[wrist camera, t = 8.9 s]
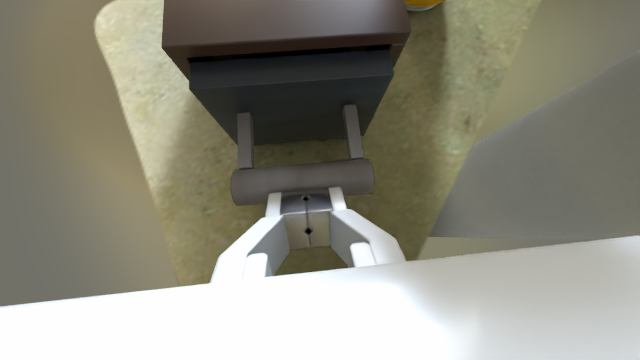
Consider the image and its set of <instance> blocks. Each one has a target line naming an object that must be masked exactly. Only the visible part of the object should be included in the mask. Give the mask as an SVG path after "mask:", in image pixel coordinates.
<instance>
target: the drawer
mask: <svg viewBox="0 0 640 360" xmlns="http://www.w3.org/2000/svg"><path fill="white" fill-rule="evenodd" d="M367 47H368V46H355V47H340V48H325V49H310V50H295V51H280V52H265V53H250V54H235V55H220V56H214V58H215V60H216V61H207V62H192V63H190V77H189V89H190V91H191V92H192V93H193V94H194V95H195V96H196V98H197V99H198V100H199V101H200V102H201V103H202V105H203V106H204V107H205V108H206V109H207V111H208V112H209V113H210V114H211V115H212V116H213V118H214V119H215V120H216V121H217V122H218V123H219V125H220V126H221V127H222V128H223V129H224V130H225V132H226V133H227V134H228V135H229V136H230V137H231V139H232V140H233V141H234V142H235V143H236V145H237V146H238V165H239V169H240V170H234V171H233V172H232V175H231V182H230V186H231V194H232V198H233V201H234V203H235V205H236V206H246V205H256V204H267V202H268V196H269V194H270V193H275V192H287V191H300V190H314V189H323V188H330V187H337V186H340V187H341V190H342V193H343V196H351V195H361V194H371V193H372V192H373V189H374V171H373V166H372V163H371V161H370V160H369V159H363V157H364V155H363V149H362V142H361V136H364V134H365V132H366V130H367V128H368V126H369V124H370V122H371V120H372V118H373V116H374V114H375V112H376V110H377V108H378V106H379V104H380V102H381V100H382V98H383V96H384V94H385V92H386V90H387V88H388V86H389V84H390V82H391V80H392V78H393V76H394V71H393V66H392V60H391V55H390V50H389V49H385V50H370V51H366V50H367ZM344 137H346V141H347V148H348V156H349V160H344V161H333V162H321V163H310V164H299V165H287V166H276V167H265V168H255V161H254V145H261V144H273V143H285V142H297V141H309V140H321V139H333V138H344Z"/></svg>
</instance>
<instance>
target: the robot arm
mask: <svg viewBox="0 0 640 360" xmlns="http://www.w3.org/2000/svg"><path fill="white" fill-rule="evenodd" d="M330 246H331V248H332V249H333V250H334V251H335V252H336V253H337V254H338V255H339V256H340V258H341V259H342V260H343V261H344V262H345V263H346V264H347V265H348V266H349V268H344V269H335V270H325V271H316V272H307V273H298V274H289V275H280V276H274V275H275V274H276V272H277V271H278V269H279V267H280V266H281V264H282V263H283V261H284V260H285V258H286V257H287V255H288V254H289V252H290V251H292V250H299V249H307V248H317V247H330ZM0 360H640V235H639V236H630V237H621V238H612V239H603V240H595V241H586V242H576V243H568V244H559V245H550V246H541V247H532V248H523V249H514V250H505V251H496V252H488V253H478V254H470V255H461V256H451V257H442V258H433V259H425V260H416V261H406V259H405V257H404V254H403V252H402V250H401V248H400V246H399V244H398V242H397V240H396V238H395V237H393V236H391V235H390V234H388V233H387V232H385V231H384V230H382V229H381V228H379V227H378V226H376V225H375V224H373V223H372V222H370V221H368V220H367V219H365V218H364V217H362V216H361V215H359V214H358V213H356V212H355V211H353V210H352V209H347V206H346V203H345V199H344V196H343V193H342V190H341V187H340V186H337V187H330V188H323V189H314V190H300V191H287V192H275V193H270V194H269V196H268V202H267V208H266V214H265V218H261V219H260V220H259V221H258V222H256V223H255V224H254V225H253V226H252V227H251V228H250V229H249V230H248V231H247V232H245V233H244V234H243V235H242V236H241V237H240V238H239V239H238V240H237V241H235V242H234V243H233V244H232V245H231V246H230V247H229V248H228V249H227V250H226V251H224V252H223V253H222V254H221V255H220V256H219V258H218V261H217V264H216V266H215V269H214V272H213V275H212V278H211V281H210V283H209V284H200V285H191V286H182V287H173V288H164V289H155V290H145V291H136V292H127V293H119V294H109V295H101V296H93V297H92V296H91V297H82V298H74V299H65V300H56V301H47V302H38V303H29V304H20V305H11V306H2V307H0Z"/></svg>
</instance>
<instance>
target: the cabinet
mask: <svg viewBox="0 0 640 360" xmlns="http://www.w3.org/2000/svg"><path fill="white" fill-rule="evenodd" d="M410 33H411V28H410V23H409V19H408V14H407V9H406V5H405V0H164V14H163V32H162V49H163V50H164V51H165V52H166V53H167V55H168V56H169V57H170V58H171V59H172V61H173V62H174V63H175V64H176V66H177V67H178V68H179V69H180V71H181V72H182V73H183V74H184V75H185V77H186V78H187V79H188V80H189V77H190V63H192V62H207V61H216V60H215V58H214V56H220V55H235V54H250V53H265V52H280V51H295V50H310V49H325V48H340V47H355V46H368V47H367V50H366V51H370V50H385V49H389V50H390V55H391V60H392V66H393V69H394V66H395V64H396V62H397V60H398V58H399V56H400V54H401V52H402V50H403V48H404V45H405V43H406V42H407V40H408V37H409V35H410Z"/></svg>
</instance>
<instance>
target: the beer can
mask: <svg viewBox="0 0 640 360" xmlns="http://www.w3.org/2000/svg"><path fill="white" fill-rule="evenodd" d="M444 1H445V0H405V5H406V9H407V10H409V11H424V10H428V9H430V8H433V7H434V6H436V5H437V4H440V3H442V2H444Z"/></svg>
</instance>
